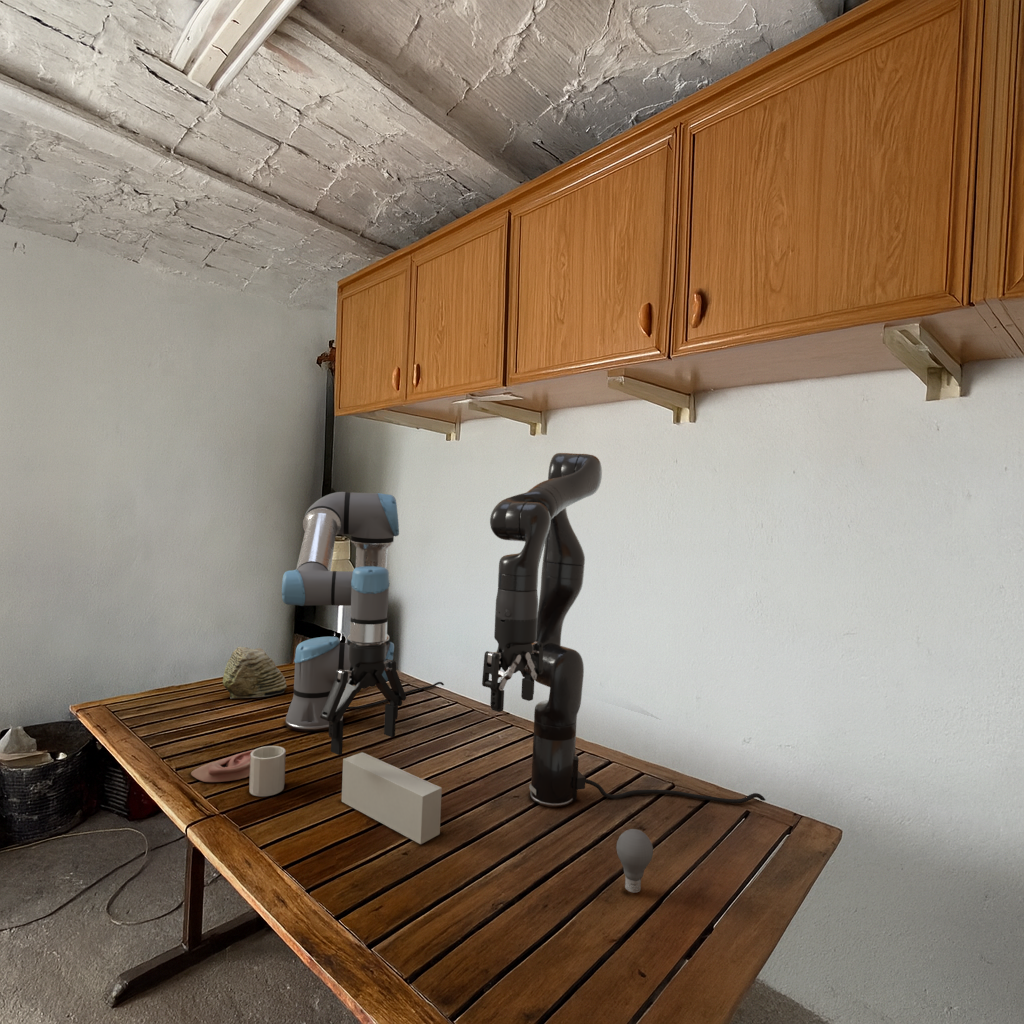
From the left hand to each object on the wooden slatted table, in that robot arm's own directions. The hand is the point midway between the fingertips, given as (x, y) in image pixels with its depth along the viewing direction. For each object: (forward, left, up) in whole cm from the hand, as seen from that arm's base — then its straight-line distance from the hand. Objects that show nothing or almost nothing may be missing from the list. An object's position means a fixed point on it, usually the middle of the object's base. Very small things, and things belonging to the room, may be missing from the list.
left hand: (364, 744), depth 131 cm
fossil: (-21, -80, -13) cm, 84 cm away
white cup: (+10, -20, -13) cm, 25 cm away
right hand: (-4, +35, +16) cm, 39 cm away
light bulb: (-12, +56, -13) cm, 59 cm away
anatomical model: (+12, -33, -13) cm, 38 cm away
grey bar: (0, +8, -13) cm, 15 cm away
